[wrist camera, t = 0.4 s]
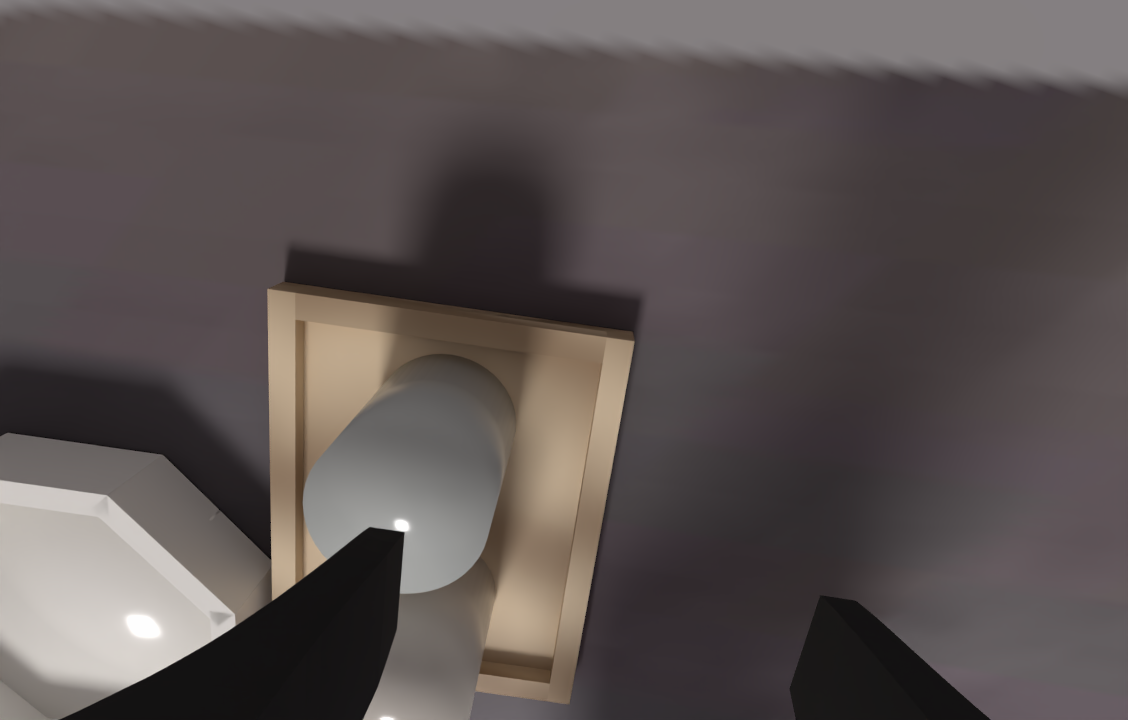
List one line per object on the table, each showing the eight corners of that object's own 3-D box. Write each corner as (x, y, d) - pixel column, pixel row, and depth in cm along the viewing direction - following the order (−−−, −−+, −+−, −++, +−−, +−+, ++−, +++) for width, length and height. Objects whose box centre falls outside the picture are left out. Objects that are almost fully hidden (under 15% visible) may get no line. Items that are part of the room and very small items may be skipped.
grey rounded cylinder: (489, 647, 23) (459, 793, 18) (366, 630, 23) (302, 770, 18) (502, 543, 22) (473, 668, 16) (371, 525, 22) (302, 645, 16)
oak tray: (570, 682, 24) (569, 704, 23) (285, 641, 24) (272, 662, 23) (632, 331, 19) (634, 341, 18) (283, 281, 19) (267, 288, 18)
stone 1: (508, 491, 21) (480, 605, 16) (373, 472, 21) (302, 579, 16) (523, 364, 19) (498, 444, 14) (379, 344, 19) (303, 416, 14)
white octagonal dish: (276, 750, 26) (242, 815, 23) (-40, 706, 26) (-107, 766, 23) (272, 470, 21) (231, 512, 19) (-103, 416, 21) (-193, 452, 19)
